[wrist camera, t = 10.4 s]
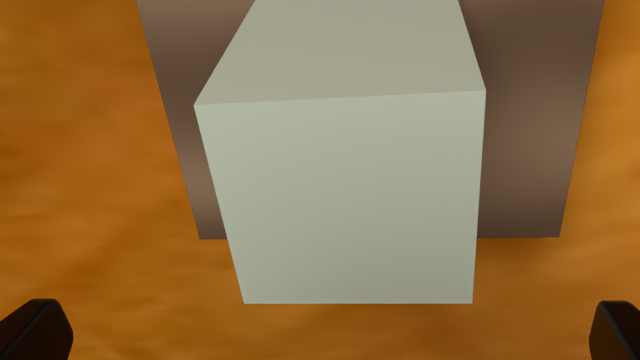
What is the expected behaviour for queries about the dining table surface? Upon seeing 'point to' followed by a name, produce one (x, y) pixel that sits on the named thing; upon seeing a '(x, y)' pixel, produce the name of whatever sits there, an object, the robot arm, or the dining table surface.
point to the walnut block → (500, 105)
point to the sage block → (348, 151)
